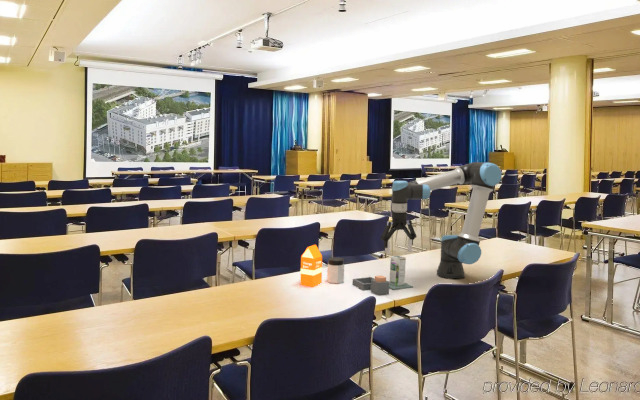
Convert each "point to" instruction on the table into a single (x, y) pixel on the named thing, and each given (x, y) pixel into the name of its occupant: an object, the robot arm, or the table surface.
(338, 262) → the jar
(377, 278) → the peach square block
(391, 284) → the rubber mat
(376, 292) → the frame
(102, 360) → the table surface
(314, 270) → the orange juice
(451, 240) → the robot arm
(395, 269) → the syrup box
